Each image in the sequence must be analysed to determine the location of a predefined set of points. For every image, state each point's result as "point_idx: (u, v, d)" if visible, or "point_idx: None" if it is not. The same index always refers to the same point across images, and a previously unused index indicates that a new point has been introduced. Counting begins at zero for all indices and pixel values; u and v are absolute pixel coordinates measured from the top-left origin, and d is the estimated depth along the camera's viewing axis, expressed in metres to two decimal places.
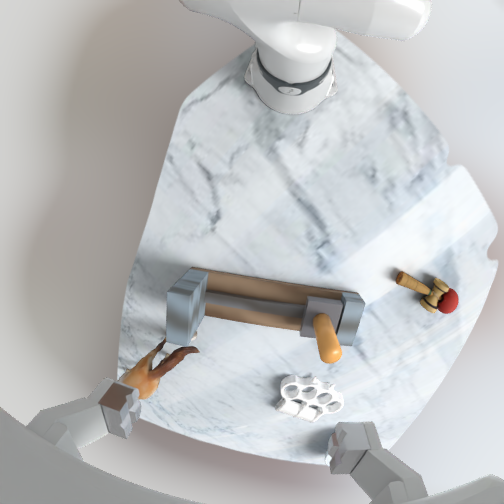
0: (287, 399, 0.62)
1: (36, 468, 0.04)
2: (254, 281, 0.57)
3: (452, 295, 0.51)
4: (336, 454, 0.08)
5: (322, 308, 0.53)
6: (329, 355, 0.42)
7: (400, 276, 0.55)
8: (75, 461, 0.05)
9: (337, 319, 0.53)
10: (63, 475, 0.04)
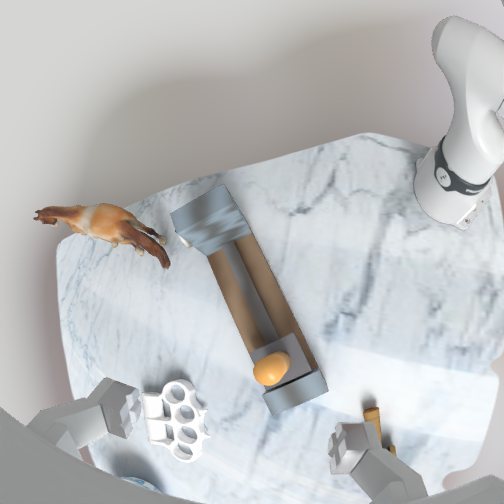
0: (162, 396, 0.48)
1: (36, 468, 0.04)
2: (271, 277, 0.52)
3: None
4: (336, 454, 0.08)
5: (293, 352, 0.43)
6: (265, 370, 0.32)
7: (372, 410, 0.41)
8: (75, 461, 0.05)
9: (292, 376, 0.42)
10: (63, 475, 0.04)
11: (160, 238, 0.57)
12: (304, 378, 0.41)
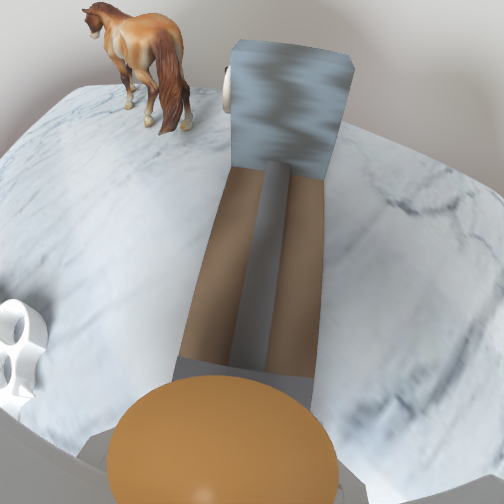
0: None
1: (36, 468, 0.04)
2: (319, 256, 0.24)
3: None
4: None
5: None
6: (207, 469, 0.03)
7: None
8: (75, 461, 0.05)
9: None
10: (63, 475, 0.04)
11: (187, 113, 0.33)
12: None
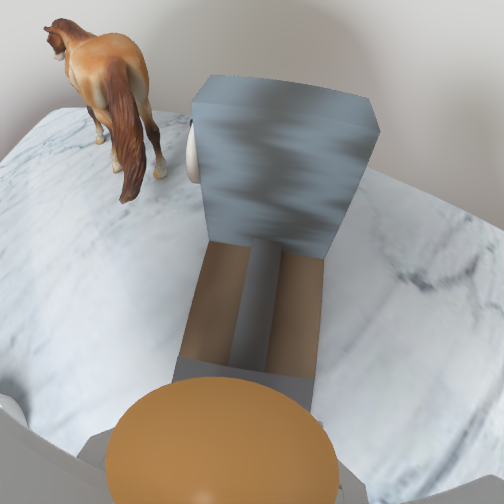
0: None
1: (36, 468, 0.04)
2: (311, 370, 0.19)
3: None
4: None
5: None
6: (206, 471, 0.03)
7: None
8: (75, 461, 0.05)
9: None
10: (63, 475, 0.04)
11: (158, 160, 0.28)
12: None
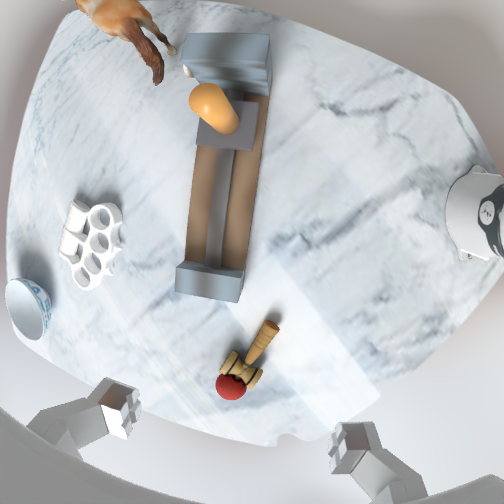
0: (88, 214, 0.44)
1: (36, 468, 0.04)
2: (258, 153, 0.41)
3: (241, 392, 0.47)
4: (336, 454, 0.08)
5: (246, 121, 0.36)
6: (204, 96, 0.25)
7: (273, 326, 0.48)
8: (75, 461, 0.05)
9: (229, 144, 0.37)
10: (63, 475, 0.04)
11: (169, 48, 0.36)
12: (223, 277, 0.42)
